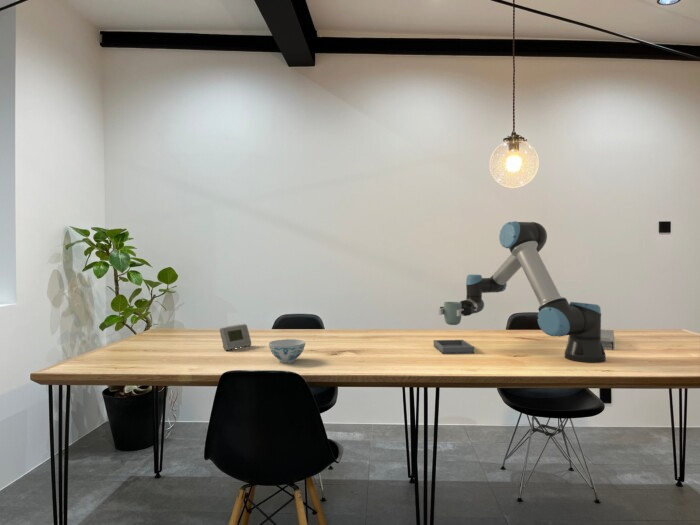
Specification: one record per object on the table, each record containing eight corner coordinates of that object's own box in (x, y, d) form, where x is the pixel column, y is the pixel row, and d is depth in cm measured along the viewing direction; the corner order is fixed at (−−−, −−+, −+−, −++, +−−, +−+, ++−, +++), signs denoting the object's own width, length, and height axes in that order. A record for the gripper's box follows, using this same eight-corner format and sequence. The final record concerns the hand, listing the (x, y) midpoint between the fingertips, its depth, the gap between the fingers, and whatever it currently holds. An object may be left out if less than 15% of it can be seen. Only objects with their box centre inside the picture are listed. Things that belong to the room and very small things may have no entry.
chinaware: (265, 358, 200) (265, 340, 200) (300, 355, 205) (300, 338, 205) (272, 366, 186) (272, 347, 186) (309, 363, 191) (309, 344, 191)
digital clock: (224, 351, 216) (224, 328, 215) (215, 349, 222) (215, 326, 222) (255, 347, 226) (255, 324, 226) (245, 344, 233) (245, 323, 233)
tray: (474, 353, 207) (474, 347, 207) (442, 354, 206) (442, 347, 206) (462, 345, 225) (462, 339, 225) (433, 346, 224) (433, 340, 224)
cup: (457, 326, 210) (457, 304, 210) (441, 324, 215) (441, 302, 215) (464, 324, 216) (464, 302, 216) (448, 322, 221) (448, 301, 221)
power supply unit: (568, 348, 220) (568, 337, 220) (572, 337, 249) (572, 327, 249) (614, 351, 211) (614, 340, 211) (613, 339, 240) (613, 330, 240)
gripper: (487, 316, 225) (470, 322, 206) (447, 313, 236) (427, 319, 217) (487, 300, 224) (470, 305, 206) (447, 298, 236) (427, 302, 217)
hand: (448, 312), depth 212 cm, fingers closed on cup, 8 cm apart
